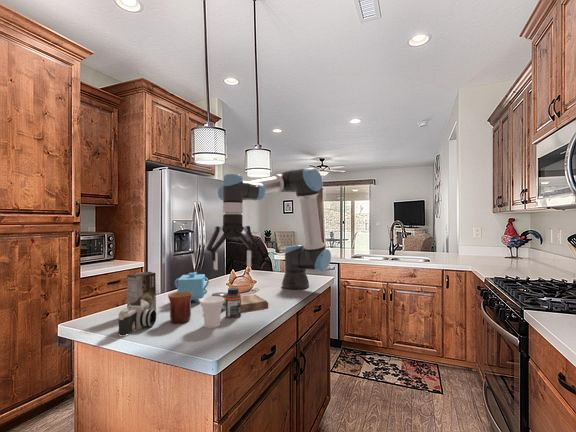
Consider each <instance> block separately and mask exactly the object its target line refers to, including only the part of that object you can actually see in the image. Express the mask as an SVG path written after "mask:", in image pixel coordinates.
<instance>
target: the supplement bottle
mask: <svg viewBox="0 0 576 432" xmlns="http://www.w3.org/2000/svg"><path fill="white" fill-rule="evenodd" d="M226 293H227V294H226V310H225V318H226V319H231V320H232V319H233V320H234V319H238V318H239V319H240V317H241V316H242V312H241V296H242V295H241V293H239V287H237V286H236V287H234V286H233V287H232V286H231V287H228V288H227V292H226Z"/></svg>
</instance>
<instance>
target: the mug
mask: <svg viewBox="0 0 576 432" xmlns="http://www.w3.org/2000/svg"><path fill="white" fill-rule="evenodd" d="M192 294H193V293H192V292H187V291H182V292H177V291H175V292H171V293H169V294H168V295H167V297H168V300H169V303H170V304H169V306H170V307H169V317H170V318H169V319H170V322H171V323H172V324H178V325H180V324H185V323H188V322H189V321H190V320H191V315H192V313H191V311H192V310H191V308H192V306H191V301H192V300H191V298H192Z"/></svg>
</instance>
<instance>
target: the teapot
mask: <svg viewBox="0 0 576 432" xmlns="http://www.w3.org/2000/svg"><path fill="white" fill-rule="evenodd" d="M209 283H210V280H209V279H208V277H206V275H205V273H200V274H199V273H198V271H194V272H188V274H182V275H181V276H180V277H178V278H176V279H175V281H174V286H175V288H177V290H176V292H182V291H187V292H192V293H193V294H192V298H191V301H194V303H199V304H200V302H199V298H200V299H201V298H204V297H205V295H206V294H207V293H208V289H206V288H207V287H208V286H209Z"/></svg>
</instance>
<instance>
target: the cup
mask: <svg viewBox="0 0 576 432" xmlns="http://www.w3.org/2000/svg"><path fill="white" fill-rule="evenodd" d="M223 302H224V298H223V297H220V296H212V295H211V296H203V298H201V299H200V298H199V304H200V306H201V308H202V312H203V319H204V324H203V325H204V327H205V328H210V329H211V328H216V327H219V326H220V325H221V312H222V311H221V309H222V304H223Z"/></svg>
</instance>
